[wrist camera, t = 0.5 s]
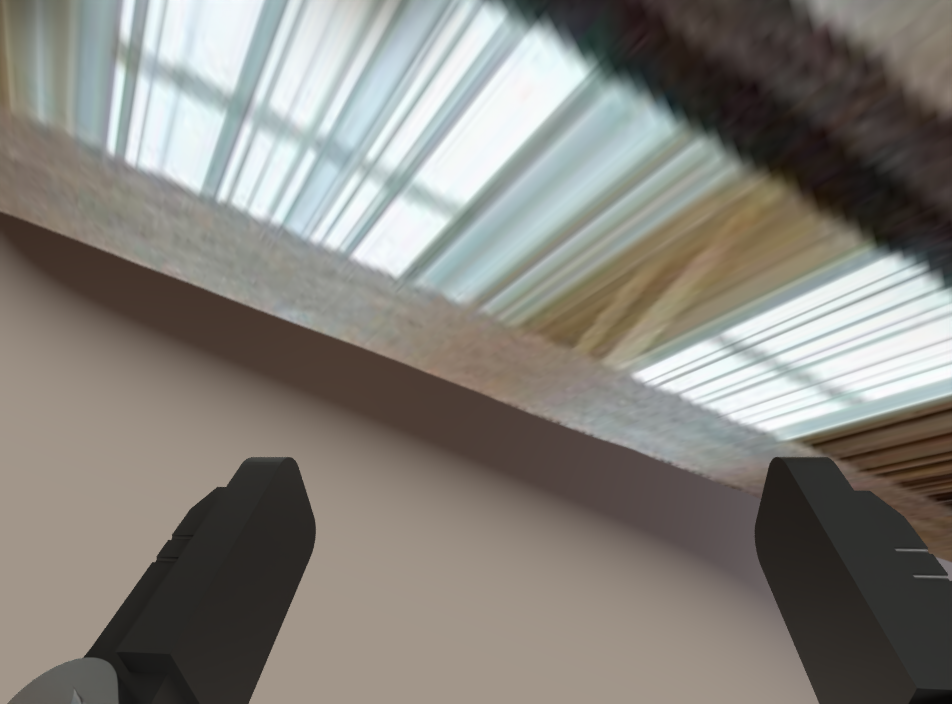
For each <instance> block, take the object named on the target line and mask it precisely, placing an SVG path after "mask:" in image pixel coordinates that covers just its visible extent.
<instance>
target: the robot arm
mask: <svg viewBox="0 0 952 704" xmlns="http://www.w3.org/2000/svg"><path fill="white" fill-rule="evenodd" d="M315 534H316V526H315V519H314V515H313V512H312V509H311V505H310V502H309V499H308V496H307V493H306V489H305V486H304V483H303V480H302V477H301V474H300V470H299V467H298V465H297V463H296V461H295V460H294V459H293V458H290V457H251V458H248V459H246V460H245V461H244V462H243V463H242V464H241V466H240V467H239V469H238V470H237V472H236V473H235V475H234V476H233V478H232V479H231V481H230V482H229V484H228V485H227V487H217V488H216V489H214V490H213V491H212V492H211V493H209V494H208V495H207V496H206V497H205V498H203V499H202V500H201V501H200V502H199V503H197V504H196V505H195V506H194V507H192V508H191V509H190V510H189V512H188V513H187V515H186V516H185V517H184V519H183V520H182V522H181V523H180V524H179V526H178V527H177V529H176V530H175V531H174V533H173V534H172V540H168V542H167V543H166V544H165V545H164V547H163V548H162V550H161V551H160V552H159V554H158V555H157V560H156V562H152V564H151V565H150V567H149V568H148V569H147V571H146V572H145V573H144V575H143V576H142V578H141V579H140V580H139V582H138V583H137V585H136V586H135V587H134V589H133V590H132V592H131V593H130V594H129V596H128V597H127V599H126V600H125V601H124V603H123V604H122V606H121V607H120V608H119V610H118V611H117V612H116V614H115V615H114V617H113V618H112V620H111V621H110V622H109V624H108V625H107V627H106V628H105V629H104V631H103V632H102V633H101V635H100V636H99V638H98V639H97V641H96V642H95V643H94V645H93V646H92V647H91V649H90V650H89V651H88V652H87V654H86V655H85V656H84V658H81V659H75V660H72V661H69V662H65V663H63V664H61V665H58V666H56V667H54V668H52V669H50V670H49V671H47V672H45V673H43V674H42V675H40V676H39V677H37V678H36V679H34V680H33V681H32V682H30V683H29V684H28V685H27V686H25V687H24V688H23V689H22V690H21V691H19V692H18V693H17V694H16V695H15V696H14V697H13V698H12V699H11V700H10V701H9V703H8V704H249V701H250V699H251V696H252V694H253V692H254V689H255V687H256V685H257V682H258V680H259V678H260V675H261V673H262V670H263V668H264V665H265V663H266V661H267V658H268V656H269V654H270V652H271V649H272V647H273V644H274V642H275V639H276V637H277V635H278V632H279V630H280V628H281V626H282V623H283V621H284V618H285V616H286V614H287V611H288V609H289V607H290V604H291V602H292V599H293V597H294V595H295V592H296V590H297V587H298V585H299V583H300V581H301V578H302V576H303V573H304V571H305V569H306V566H307V564H308V562H309V559H310V557H311V554H312V551H313V548H314V543H315ZM755 545H756V551H757V555H758V559H759V562H760V565H761V567H762V570H763V572H764V574H765V577H766V579H767V581H768V584H769V586H770V588H771V591H772V593H773V595H774V598H775V600H776V602H777V605H778V607H779V609H780V612H781V614H782V617H783V619H784V621H785V624H786V626H787V628H788V631H789V633H790V635H791V638H792V640H793V642H794V645H795V647H796V650H797V652H798V654H799V657H800V659H801V661H802V663H803V666H804V668H805V671H806V673H807V675H808V677H809V680H810V682H811V685H812V687H813V689H814V692H815V694H816V696H817V699H818V701H819V704H952V581H949V579H948V574H947V572H946V571H945V570H944V568H943V567H942V566H941V564H940V563H939V562H938V560H937V559H936V558H935V556H934V555H933V554H929V553H928V547H927V546H926V545H925V543H924V542H923V541H922V539H921V538H920V537H919V535H918V534H917V533H916V532H915V530H914V529H913V528H912V526H911V525H910V524H909V522H908V521H907V520H906V518H905V517H904V516H903V515H901V514H900V513H899V512H897V511H896V510H895V509H893V508H892V507H891V506H889V505H888V504H887V503H885V502H884V501H883V500H881V499H880V498H879V497H877V496H876V495H875V494H873V493H872V492H871V491H854V490H853V488H852V487H851V485H850V484H849V482H848V481H847V480H846V478H845V477H844V475H843V474H842V472H841V471H840V470H839V468H838V467H837V465H836V464H835V463H834V462H833V461H832V460H831V459H830V458H828V457H775V458H774V459H772V461H771V463H770V465H769V468H768V472H767V477H766V481H765V485H764V489H763V494H762V498H761V502H760V506H759V511H758V515H757V519H756V524H755Z"/></svg>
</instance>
